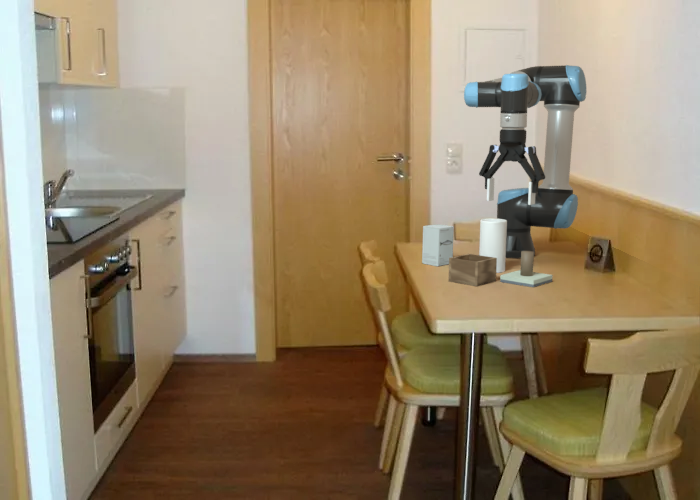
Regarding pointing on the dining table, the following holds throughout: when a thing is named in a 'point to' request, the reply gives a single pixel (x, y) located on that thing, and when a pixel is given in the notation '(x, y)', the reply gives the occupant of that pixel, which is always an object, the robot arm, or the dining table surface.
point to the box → (472, 269)
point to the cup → (494, 240)
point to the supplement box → (437, 244)
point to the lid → (526, 271)
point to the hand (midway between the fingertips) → (510, 202)
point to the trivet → (525, 283)
